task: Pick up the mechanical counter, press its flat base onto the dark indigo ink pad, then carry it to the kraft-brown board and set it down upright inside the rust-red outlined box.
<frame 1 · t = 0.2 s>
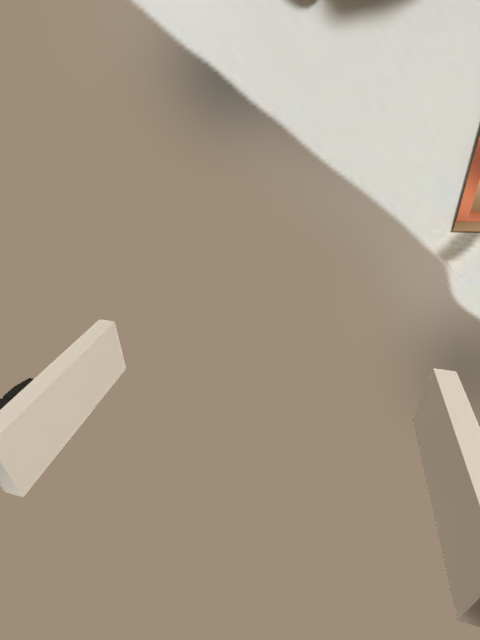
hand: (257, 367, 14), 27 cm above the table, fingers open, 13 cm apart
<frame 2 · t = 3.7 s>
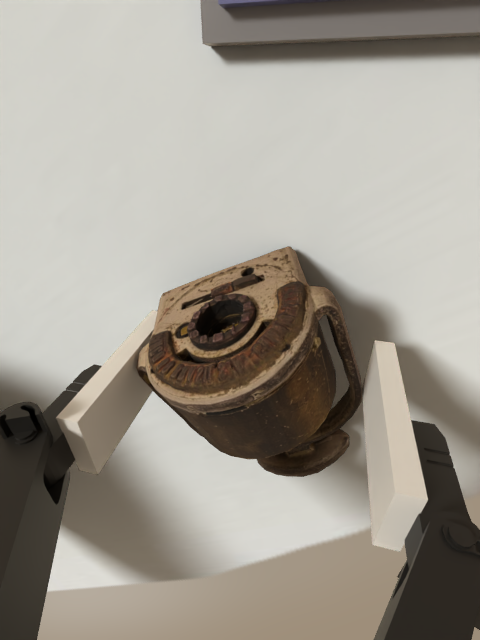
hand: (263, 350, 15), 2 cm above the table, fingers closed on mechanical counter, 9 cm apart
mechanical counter: (269, 356, 18), on the table, touching gripper
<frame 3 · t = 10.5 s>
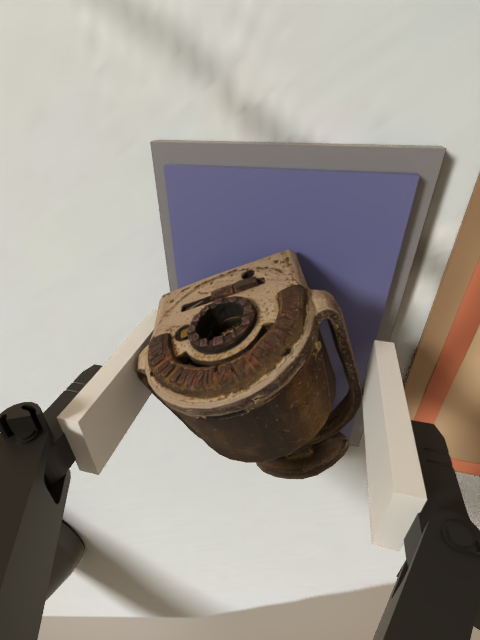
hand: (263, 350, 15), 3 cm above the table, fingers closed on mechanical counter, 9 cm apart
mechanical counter: (268, 358, 18), point 1 cm above the table, touching gripper
ink pad: (276, 315, 18), on the table
when the fingers open (2 cm above the table, at t = 17.4 s): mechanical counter stays where it is, resting on print sheet.
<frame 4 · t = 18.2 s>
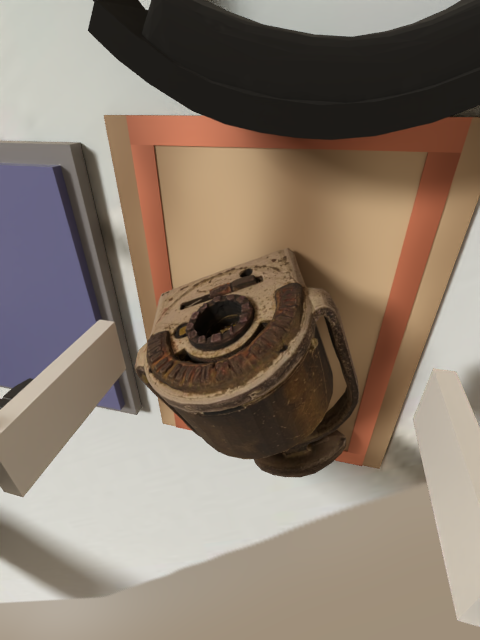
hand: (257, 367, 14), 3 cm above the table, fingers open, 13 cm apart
print sheet: (270, 326, 17), on the table
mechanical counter: (267, 357, 18), resting on print sheet
ink pad: (33, 294, 20), on the table
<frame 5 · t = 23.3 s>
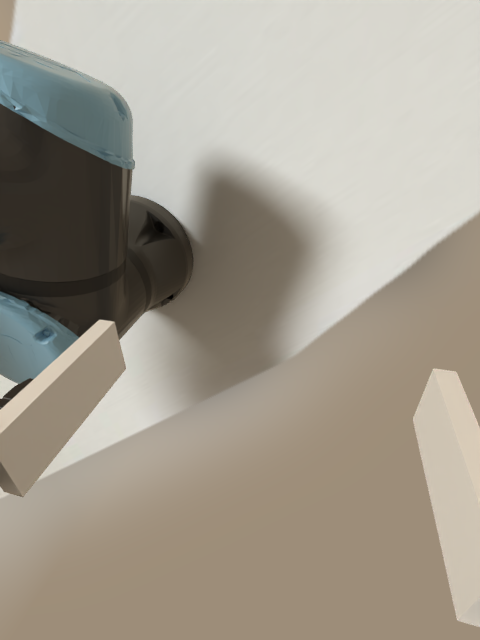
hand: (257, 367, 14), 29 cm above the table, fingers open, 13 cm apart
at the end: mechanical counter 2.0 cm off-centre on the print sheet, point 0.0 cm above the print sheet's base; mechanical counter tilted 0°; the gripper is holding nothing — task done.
